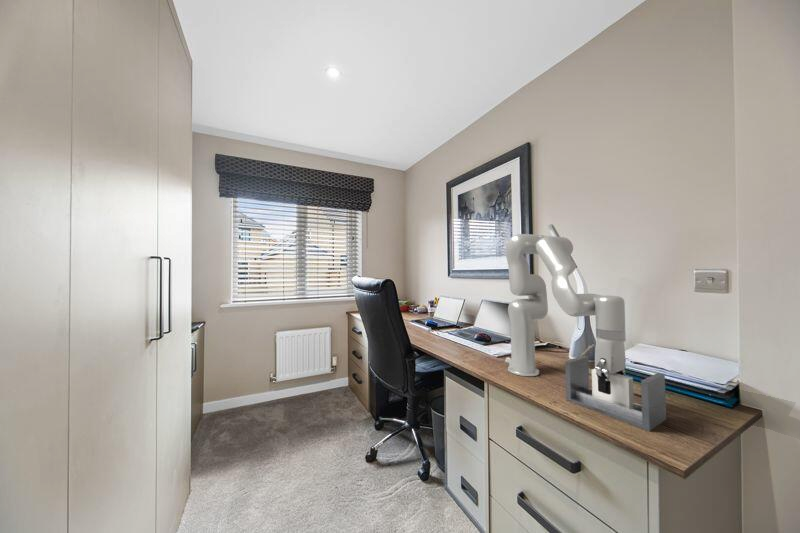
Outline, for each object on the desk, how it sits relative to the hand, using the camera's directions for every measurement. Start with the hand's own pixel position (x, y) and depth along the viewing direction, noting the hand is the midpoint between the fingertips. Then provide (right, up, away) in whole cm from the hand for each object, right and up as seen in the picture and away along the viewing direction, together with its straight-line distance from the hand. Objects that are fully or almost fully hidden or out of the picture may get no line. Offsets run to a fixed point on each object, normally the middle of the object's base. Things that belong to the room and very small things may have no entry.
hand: (612, 389), depth 88 cm
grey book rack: (0, -6, 0) cm, 6 cm away
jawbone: (+14, -7, +32) cm, 35 cm away
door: (0, -5, 0) cm, 5 cm away
